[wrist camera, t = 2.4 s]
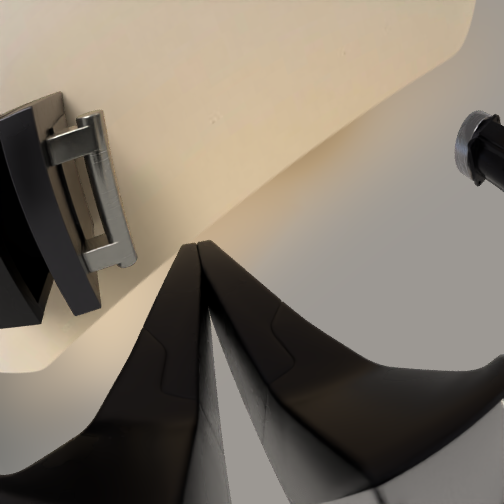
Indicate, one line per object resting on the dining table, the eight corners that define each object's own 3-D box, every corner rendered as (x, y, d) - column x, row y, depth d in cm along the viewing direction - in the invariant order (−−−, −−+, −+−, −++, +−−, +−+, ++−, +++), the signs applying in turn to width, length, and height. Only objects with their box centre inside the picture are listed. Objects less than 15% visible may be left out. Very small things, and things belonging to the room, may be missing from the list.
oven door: (100, 79, 14) (99, 82, 8) (126, 214, 20) (149, 292, 14) (38, 99, 13) (-5, 121, 7) (74, 231, 19) (74, 317, 13)
